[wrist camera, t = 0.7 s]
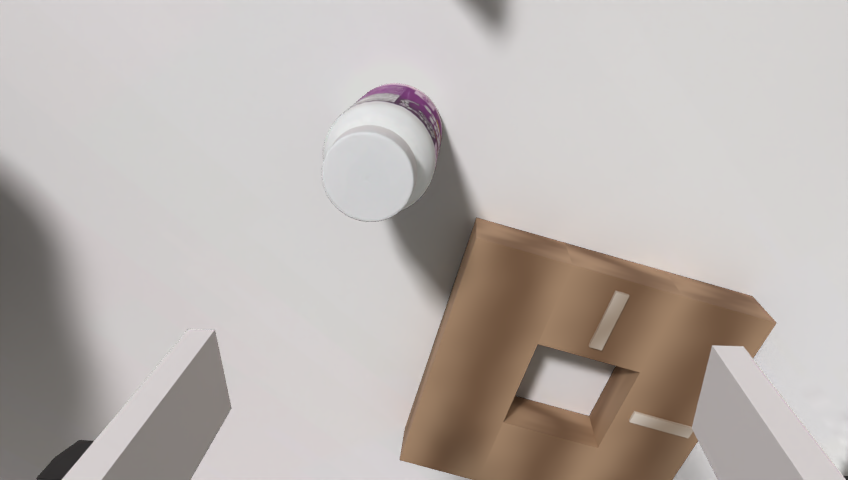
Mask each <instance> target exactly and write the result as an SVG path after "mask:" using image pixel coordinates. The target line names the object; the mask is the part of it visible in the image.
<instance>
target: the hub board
mask: <svg viewBox="0 0 848 480" xmlns="http://www.w3.org/2000/svg"><path fill="white" fill-rule="evenodd" d="M775 324H776V322H775V321H774V319H773V318H772V317H771V316H770V315H769V314H768V313H767V312H766V311H765V310H764V308H763V307H762V306H761V305H760V304H759V303H758V302H757V301H756V300H755V299H754V297H753V296H750V295H746V294H743V293H739V292H736V291H732V290H729V289H725V288H722V287H718V286H715V285H711V284H708V283H704V282H701V281H697V280H694V279H690V278H686V277H683V276H679V275H676V274H672V273H669V272H665V271H662V270H658V269H655V268H651V267H648V266H644V265H641V264H637V263H634V262H630V261H627V260H623V259H620V258H616V257H613V256H609V255H606V254H602V253H599V252H595V251H592V250H588V249H585V248H581V247H578V246H574V245H571V244H567V243H564V242H560V241H557V240H553V239H550V238H546V237H543V236H539V235H535V234H532V233H528V232H525V231H521V230H518V229H514V228H511V227H507V226H504V225H500V224H497V223H493V222H490V221H486V220H483V219H479V218H476V220H475V223H474V226H473V229H472V232H471V235H470V238H469V241H468V244H467V247H466V250H465V253H464V256H463V259H462V262H461V264H460V267H459V270H458V273H457V276H456V279H455V282H454V285H453V288H452V291H451V294H450V297H449V300H448V303H447V306H446V309H445V312H444V315H443V318H442V321H441V324H440V326H439V329H438V332H437V335H436V338H435V341H434V344H433V347H432V350H431V353H430V356H429V359H428V362H427V365H426V368H425V371H424V374H423V377H422V380H421V383H420V385H419V388H418V391H417V394H416V397H415V400H414V403H413V406H412V409H411V412H410V415H409V418H408V421H407V424H406V427H405V431H404V437H403V443H402V449H401V455H400V460H402V461H405V462H409V463H413V464H416V465H420V466H424V467H428V468H431V469H435V470H439V471H442V472H446V473H450V474H454V475H457V476H461V477H465V478H469V479H472V480H672V479H673V478H674V476H675V475H676V473H677V472H678V470H679V469H680V467H681V466H682V464H683V463H684V461H685V460H686V458H687V457H688V455H689V454H690V452H691V451H692V449H693V448H694V446H695V445H696V443H697V442H698V440H697V438H696V436H695V434H694V432H693V430H692V425H693V421H694V417H695V413H696V408H697V404H698V400H699V396H700V392H701V388H702V384H703V380H704V376H705V372H706V368H707V364H708V360H709V356H710V352H711V348H712V345H716V346H744V348H745V349H746V350H747V352H748V353H749V354H750V356H751V357H752V358H754V356H755V355H756V353H757V352H758V350H759V349H760V347H761V346H762V344H763V343H764V341H765V340H766V338H767V336H768V335H769V333H770V332H771V330H772V329H773V327H774V326H775ZM538 344H539V345H543V346H546V347H550V348H554V349H557V350H561V351H564V352H568V353H572V354H575V355H579V356H582V357H586V358H590V359H593V360H597V361H600V362H604V363H608V364H611V365H615V366H616V367H615V369H614V371H613V372H612V374H611V376H610V378H609V380H608V382H607V384H606V386H605V387H604V389H603V391H602V393H601V395H600V397H599V399H598V401H597V403H596V404H595V406H594V408H593V410H592V412H591V414H590V416H586V415H583V414H579V413H575V412H572V411H568V410H565V409H561V408H557V407H554V406H550V405H546V404H543V403H539V402H535V401H532V400H528V399H524V398H521V397H517V396H515V394H516V392H517V390H518V388H519V385H520V383H521V381H522V379H523V376H524V374H525V372H526V369H527V367H528V365H529V363H530V360H531V358H532V356H533V354H534V351H535V349H536V347H537V345H538Z"/></svg>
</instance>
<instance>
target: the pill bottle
mask: <svg viewBox="0 0 848 480" xmlns="http://www.w3.org/2000/svg"><path fill="white" fill-rule="evenodd" d="M441 139H442V122H441V118H440V115H439V112H438V110H437V108H436V106H435V105H434V103H433V102H432V101H431V99H430V98H429V97H428V96H427V95H426V94H424V93H423V92H422V91H420V90H418V89H417V88H415V87H412V86H409V85H406V84H400V83H389V84H384V85H381V86H378V87H376V88H374V89H372V90H371V91H369V92H367V93H366V94H365V95H364V96H363V97H362V98H360V99H359V100H358V101H357V102H356V103H355V104H353V105H352V106H351V107H350V108H349V109H348V110H346V111H345V112H344V113H343V114H341V115H340V116H339V117H338V118H337V119H336V121H335V122H334V123H333V125H332V126H331V128H330V130H329V131H328V134H327V136H326V139H325V142H324V147H323V165H322V182H323V187H324V190H325V192H326V194H327V196H328V198H329V199H330V201H331V202H332V203H333V204H334V206H335V207H336V208H337V209H339V210H340V211H341V212H342V213H344V214H345V215H347V216H349V217H351V218H353V219H356V220H360V221H366V222H376V221H382V220H386V219H388V218H391V217H393V216H394V215H396V214H397V213H399V212H400V211H401V210H404V209H406V208H408V207H409V206H411V205H412V204H414V203H415V202H416V201H417V200H418V199H419V198H421V196H422V195H423V194H424V193H425V191H426V190H427V188H428V187H429V185H430V183H431V180H432V178H433V175H434V171H435V168H436V163H437V159H438V154H439V149H440V145H441Z"/></svg>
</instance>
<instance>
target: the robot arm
mask: <svg viewBox="0 0 848 480" xmlns="http://www.w3.org/2000/svg"><path fill="white" fill-rule="evenodd" d="M230 410H231V404H230V399H229V394H228V389H227V385H226V380H225V375H224V370H223V366H222V361H221V356H220V352H219V347H218V342H217V337H216V333H215V330H205V329H188V330H187V331H186V332H185V333H184V334H183V336H182V337H181V338H180V339H179V340H178V342H177V343H176V344H175V345H174V346H173V347H172V349H171V350H170V351H169V352H168V353H167V355H166V356H165V357H164V358H163V359H162V361H161V362H160V363H159V364H158V365H157V367H156V368H155V369H154V370H153V371H152V373H151V374H150V375H149V376H148V377H147V379H146V380H145V381H144V382H143V383H142V384H141V386H140V387H139V388H138V389H137V390H136V392H135V393H134V394H133V395H132V396H131V398H130V399H129V400H128V401H127V402H126V404H125V405H124V406H123V407H122V408H121V410H120V411H119V412H118V413H117V414H116V416H115V417H114V418H113V419H112V420H111V421H110V423H109V424H108V425H107V426H106V427H105V429H104V430H103V431H102V432H101V433H100V435H99V436H98V437H97V438H96V439H95V441H85V440H79V441H77V442H76V443H75V444H73V445H72V446H70V447H69V448H68V449H66V450H65V451H63V452H62V453H61V454H59V455H58V456H56V457H55V458H54V459H53V460H52V461H51V462H50V464H49V465H48V466H47V467H46V468H45V469H44V470H43V471H42V472H41V474H40V475H39V476H38V477H37V480H191V478H192V476H193V474H194V473H195V471H196V469H197V467H198V466H199V464H200V462H201V460H202V459H203V457H204V455H205V454H206V452H207V450H208V448H209V447H210V445H211V443H212V441H213V440H214V438H215V436H216V434H217V433H218V431H219V429H220V427H221V426H222V424H223V422H224V420H225V419H226V417H227V415H228V413H229V412H230ZM692 430H693V432H694V434H695V436H696V438H697V440H698V441H699V443H700V445H701V447H702V449H703V451H704V453H705V455H706V457H707V459H708V461H709V463H710V465H711V467H712V469H713V471H714V473H715V475H716V477H717V479H718V480H848V476H843V475H842V474H841V473H840V471H839V470H838V469H837V467H836V466H835V465H834V464H833V462H832V461H831V460H830V458H829V457H828V456H827V454H826V453H825V452H824V451H823V449H822V448H821V447H820V445H819V444H818V443H817V441H816V440H815V439H814V438H813V436H812V435H811V434H810V432H809V431H808V430H807V428H806V427H805V426H804V425H803V423H802V422H801V421H800V419H799V418H798V417H797V415H796V414H795V413H794V412H793V410H792V409H791V408H790V406H789V405H788V404H787V402H786V401H785V400H784V399H783V397H782V396H781V395H780V393H779V392H778V391H777V389H776V388H775V387H774V386H773V384H772V383H771V382H770V380H769V379H768V378H767V376H766V375H765V374H764V372H763V371H762V370H761V369H760V367H759V366H758V365H757V363H756V362H755V361H754V359H753V358H752V357H751V356H750V354H749V353H748V352H747V350H746V349H745V348H744V346H716V345H712V348H711V352H710V356H709V360H708V364H707V368H706V372H705V376H704V380H703V384H702V388H701V392H700V396H699V400H698V404H697V408H696V413H695V417H694V421H693V425H692Z"/></svg>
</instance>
